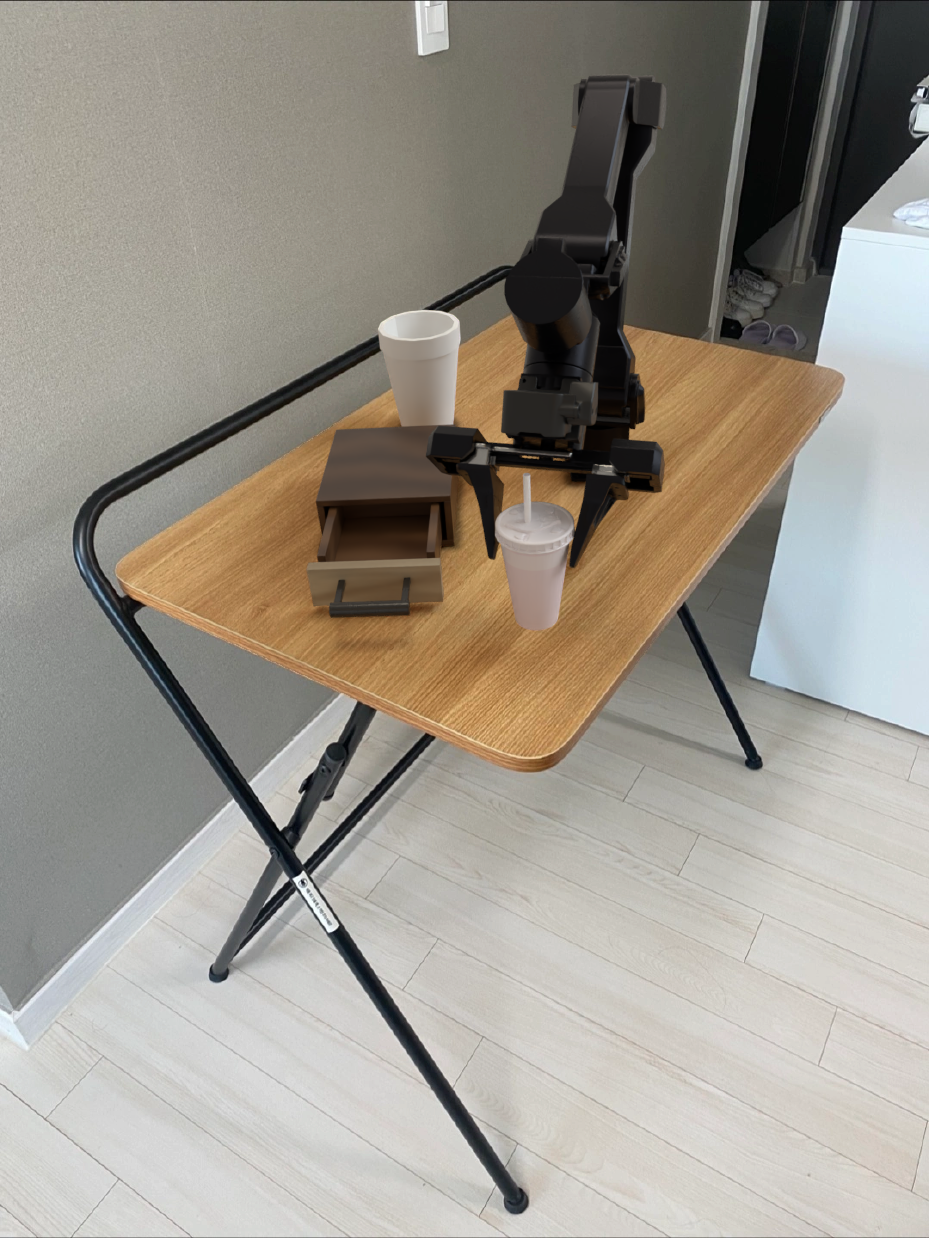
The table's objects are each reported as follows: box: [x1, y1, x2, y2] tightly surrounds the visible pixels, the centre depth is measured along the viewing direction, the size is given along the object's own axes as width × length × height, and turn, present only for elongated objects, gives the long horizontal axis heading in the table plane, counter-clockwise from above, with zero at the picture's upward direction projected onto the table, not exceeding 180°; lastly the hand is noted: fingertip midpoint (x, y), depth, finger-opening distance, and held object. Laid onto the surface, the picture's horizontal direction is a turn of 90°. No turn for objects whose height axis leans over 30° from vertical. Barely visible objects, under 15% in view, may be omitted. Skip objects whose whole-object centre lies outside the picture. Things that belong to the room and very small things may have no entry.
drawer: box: [306, 502, 445, 619], centre depth 92 cm, size 19×12×4 cm, turn 178°
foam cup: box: [377, 309, 462, 427], centre depth 115 cm, size 10×9×13 cm
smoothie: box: [495, 472, 576, 632], centre depth 78 cm, size 6×6×14 cm
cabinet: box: [315, 423, 460, 547], centre depth 102 cm, size 15×13×6 cm
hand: (531, 563), depth 77 cm, fingers closed on smoothie, 6 cm apart
